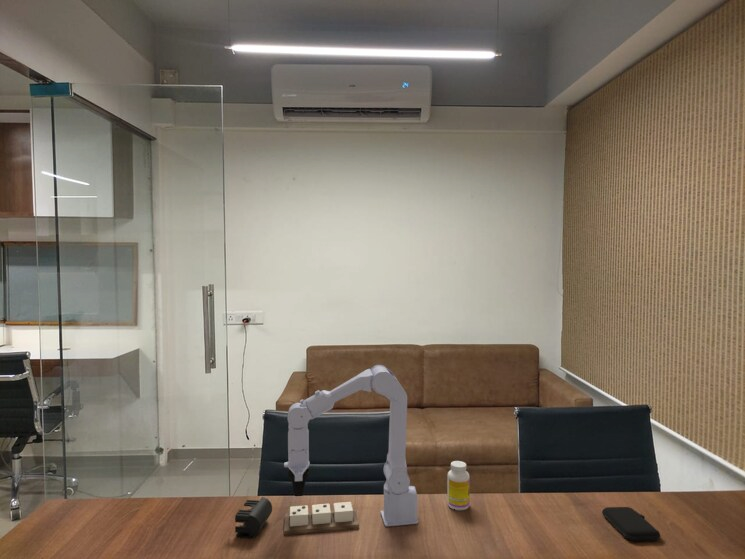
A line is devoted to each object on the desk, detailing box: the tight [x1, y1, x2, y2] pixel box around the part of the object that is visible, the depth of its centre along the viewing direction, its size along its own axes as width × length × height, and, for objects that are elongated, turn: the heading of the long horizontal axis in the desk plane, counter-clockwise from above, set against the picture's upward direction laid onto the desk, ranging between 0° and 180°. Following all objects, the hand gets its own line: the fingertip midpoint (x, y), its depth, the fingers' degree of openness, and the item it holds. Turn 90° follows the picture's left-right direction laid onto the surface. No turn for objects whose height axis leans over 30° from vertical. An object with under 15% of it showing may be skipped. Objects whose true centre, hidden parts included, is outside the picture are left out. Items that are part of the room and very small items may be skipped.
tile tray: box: [283, 507, 360, 536], centre depth 133 cm, size 20×9×1 cm, turn 99°
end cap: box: [234, 496, 273, 540], centre depth 130 cm, size 10×7×7 cm
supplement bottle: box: [446, 460, 471, 511], centre depth 142 cm, size 7×7×13 cm
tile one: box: [333, 501, 353, 523], centre depth 134 cm, size 5×5×3 cm
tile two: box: [311, 503, 331, 525], centre depth 133 cm, size 5×5×3 cm
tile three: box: [289, 505, 309, 527], centre depth 132 cm, size 5×5×3 cm
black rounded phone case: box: [601, 506, 662, 543], centre depth 130 cm, size 11×3×15 cm
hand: (298, 495), depth 132 cm, fingers closed
